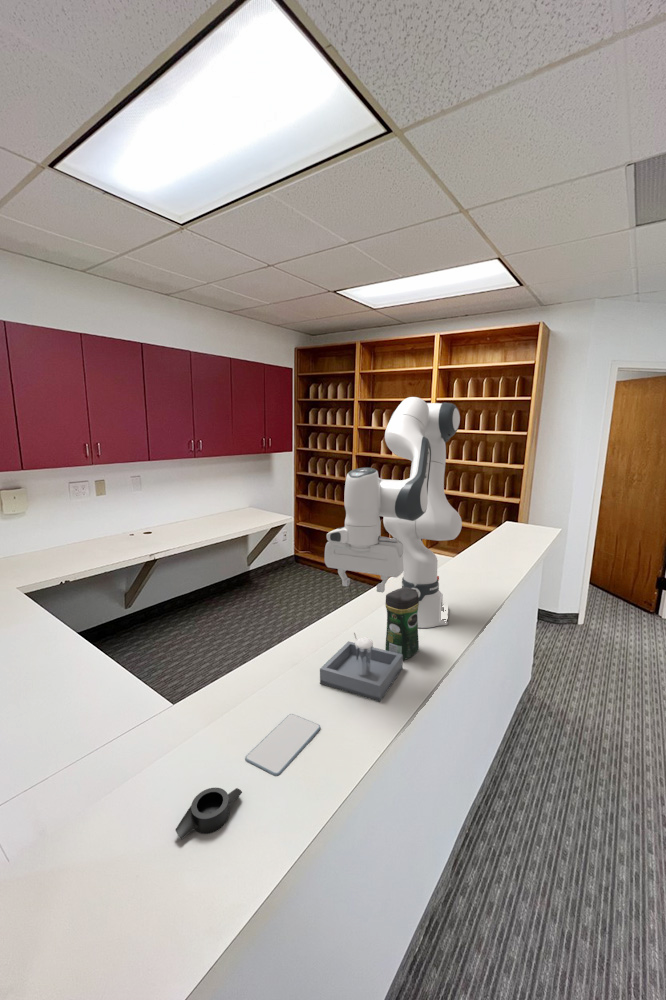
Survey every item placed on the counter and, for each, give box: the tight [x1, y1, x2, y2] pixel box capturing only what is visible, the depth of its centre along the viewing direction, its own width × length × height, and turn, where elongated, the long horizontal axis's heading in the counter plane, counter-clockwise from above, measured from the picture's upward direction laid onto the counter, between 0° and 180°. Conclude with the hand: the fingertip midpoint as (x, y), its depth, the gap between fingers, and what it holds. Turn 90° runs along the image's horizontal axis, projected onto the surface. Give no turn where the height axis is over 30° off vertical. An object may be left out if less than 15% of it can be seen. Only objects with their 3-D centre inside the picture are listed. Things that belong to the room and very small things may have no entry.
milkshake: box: [353, 632, 374, 676], centre depth 105 cm, size 5×5×10 cm
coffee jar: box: [384, 587, 420, 661], centre depth 116 cm, size 10×8×19 cm
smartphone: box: [244, 713, 321, 777], centre depth 83 cm, size 8×1×15 cm
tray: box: [319, 641, 404, 703], centre depth 106 cm, size 16×16×4 cm
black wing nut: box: [175, 787, 243, 840], centre depth 66 cm, size 8×10×3 cm
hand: (363, 588), depth 103 cm, fingers open, 8 cm apart
